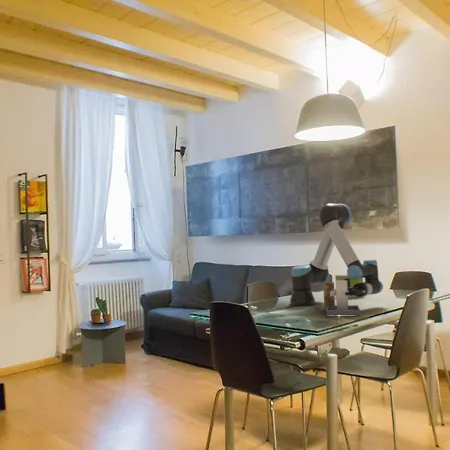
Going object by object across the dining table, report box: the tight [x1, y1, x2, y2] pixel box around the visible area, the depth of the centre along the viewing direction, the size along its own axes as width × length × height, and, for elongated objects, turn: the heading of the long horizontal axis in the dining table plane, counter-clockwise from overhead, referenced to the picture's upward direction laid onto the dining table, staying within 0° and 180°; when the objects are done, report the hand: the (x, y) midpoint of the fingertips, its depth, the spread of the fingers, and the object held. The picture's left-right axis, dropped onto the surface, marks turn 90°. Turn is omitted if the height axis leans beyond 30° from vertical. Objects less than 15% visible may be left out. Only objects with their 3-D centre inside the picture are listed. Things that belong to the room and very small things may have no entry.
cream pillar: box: [335, 280, 349, 310], centre depth 265 cm, size 6×6×15 cm
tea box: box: [334, 273, 364, 299], centre depth 328 cm, size 15×10×15 cm
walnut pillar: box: [322, 281, 336, 310], centre depth 282 cm, size 6×6×15 cm
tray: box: [325, 304, 362, 317], centre depth 265 cm, size 17×17×3 cm
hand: (335, 294), depth 262 cm, fingers closed on cream pillar, 6 cm apart
